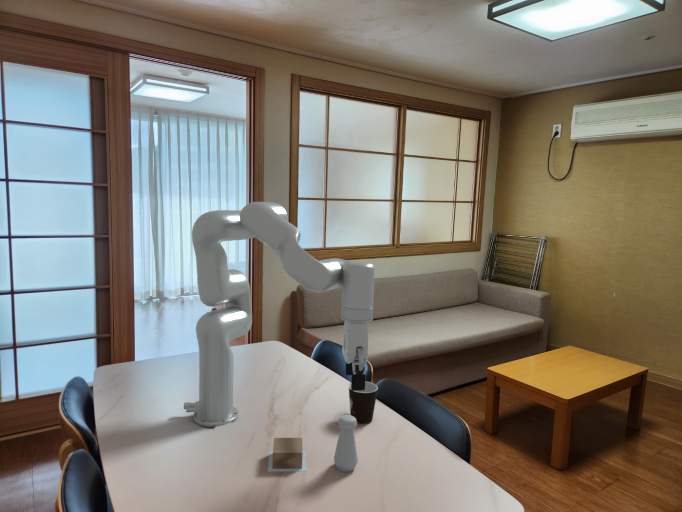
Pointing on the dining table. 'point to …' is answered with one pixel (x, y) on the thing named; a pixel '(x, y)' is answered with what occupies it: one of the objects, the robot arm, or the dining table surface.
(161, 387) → the dining table surface
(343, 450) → the salt shaker
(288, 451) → the base block
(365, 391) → the coffee mug
